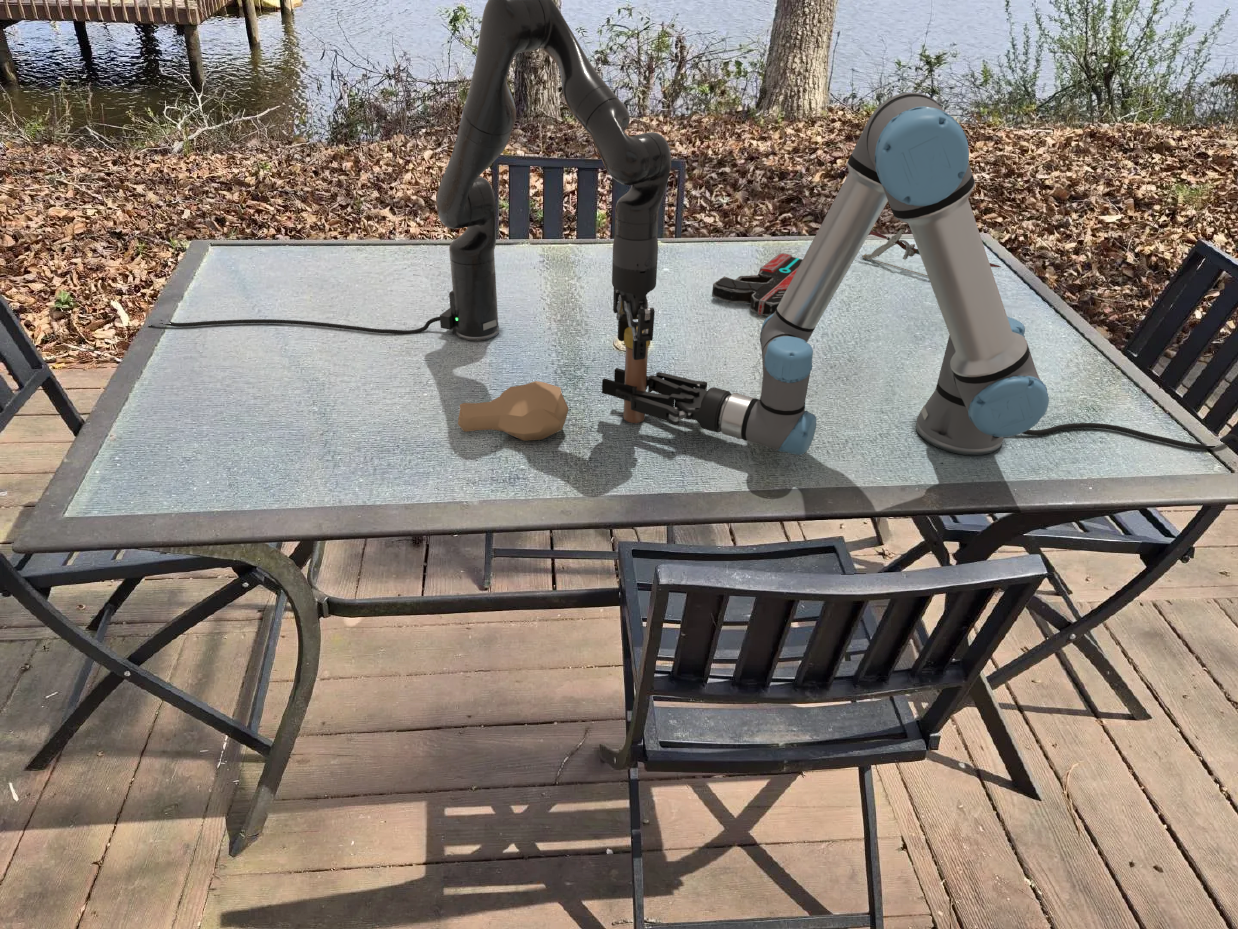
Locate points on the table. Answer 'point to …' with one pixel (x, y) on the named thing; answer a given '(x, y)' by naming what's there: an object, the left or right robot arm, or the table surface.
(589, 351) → the table surface
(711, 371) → the table surface
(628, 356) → the jar
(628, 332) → the lid
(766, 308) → the gun
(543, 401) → the squash
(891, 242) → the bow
